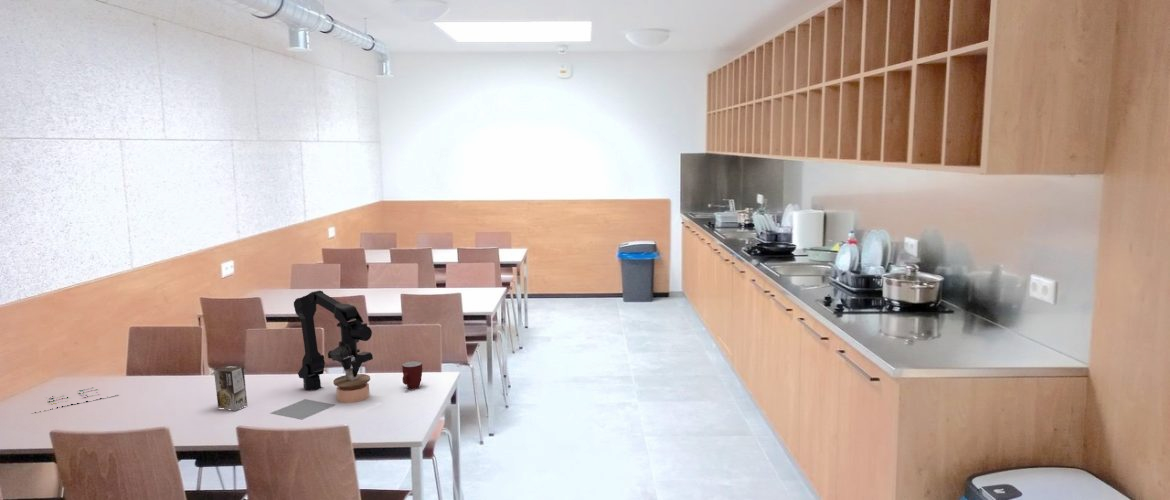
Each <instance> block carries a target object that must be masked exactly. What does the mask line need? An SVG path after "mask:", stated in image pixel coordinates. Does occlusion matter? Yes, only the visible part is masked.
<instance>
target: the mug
mask: <svg viewBox="0 0 1170 500" xmlns="http://www.w3.org/2000/svg"><path fill="white" fill-rule="evenodd" d="M401 369H402V384H404V385H405V386H407V387H408V389H410V390H414V389H418V388H419V387H420V385H421V382H422V377H423V362H421V361H415V360H414V361H406V362H404V363H402V366H401Z"/></svg>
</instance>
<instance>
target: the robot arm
mask: <svg viewBox="0 0 1170 500" xmlns="http://www.w3.org/2000/svg"><path fill="white" fill-rule="evenodd" d="M317 305H318V306H321V307H322V308H324V309H325V310H327V311H329V312H330V313H332V314H333V318H335V319H336V321H337V322H338V323H337V324H336V327H338V328H340V339H341V341H339V342H338V346H337V347H336V348H334V349H332V350H331V349H330V350H329V351H328V352H327V357H328V359H331V360H332V361H334V362H338V363H340V364H341V366H342V368H343V370H344V371H345V370H347V369H350V368H352V369H353V376H354V377H356V376H357V374H359V371H360V368H361V366H362V364H364V363H367V362H369V361H372V360H374V359H373V358H374V357H373V353H372V352H370V351H363V352H361V350H360V349H358V343H359V342H360V341H362V342H368V341H369V340H370V339H371V338H372V334H373V332H372V331H373V330H372V329H371V327H370V326H368V323H365V322H364V320H363V318H362V316H361V315H360V313H359V311H358V309H357V308H356V306H354V305H352V304H350V303H349V304H348V303H342V302H340V301H338V300H336V299H334V298H333V297H332V296H329V295H328V294H325V292H324V291H323V290H315V291H314V290H313V291H311V292H309V293H308V294H307V295H304V296H302V297H297V298H295V300H294V301H293V308H294V311H295V315H296V316H298V318H299V319H300V324H301V330H302V332H301V333H302V338H303V346H304V355H303V358H302V360H301V365H302V366H301V368H300V369H299V371H298V372H297V375H298V378H300V379H302V381H303V389H304V390H305V391H317V390H320V389H324V387H323V386H322V383H321V377H320V375H323V374H324V370H325V368H326V367H325V365H326V361H325V356H324V354H321V353H320V352H319V349H318V342H317V336H316V335H317V334H316V327H315V326H316V324H315V320H314V317H315V314H316V312H317Z"/></svg>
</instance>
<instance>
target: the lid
mask: <svg viewBox="0 0 1170 500" xmlns="http://www.w3.org/2000/svg"><path fill="white" fill-rule="evenodd" d="M344 372H345V375H340V376H338V377H336V378H334V379H333V385H334V386H336V387H338V386H340V387H351V386H357V385H362V384H365V383H369V382H370V381H371V376H370V375H369V374H365V373H357V376H356V377H354V376H353V369H352V367H351V368H350V369H347V370H344Z"/></svg>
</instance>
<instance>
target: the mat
mask: <svg viewBox="0 0 1170 500" xmlns="http://www.w3.org/2000/svg"><path fill="white" fill-rule="evenodd" d="M335 406H336V404H335V403H330V402H329V403H328V402H324V401H317V400H311V399H308V398H307V399H306V398H305V399H302V400H300V401H297V402H295V403H292V404H289V405H287V406H284V407H282V408H280V409H277V410H274V411H271V412H269V414H271V415H277V416H280V417H281V416H283V417H286V418H292V419H297V420H304V419H307V418H309V417H311V416H313V415H316V414H319V413H321V412H323V411H325V410H328V409H330V408H333V407H335Z"/></svg>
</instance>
